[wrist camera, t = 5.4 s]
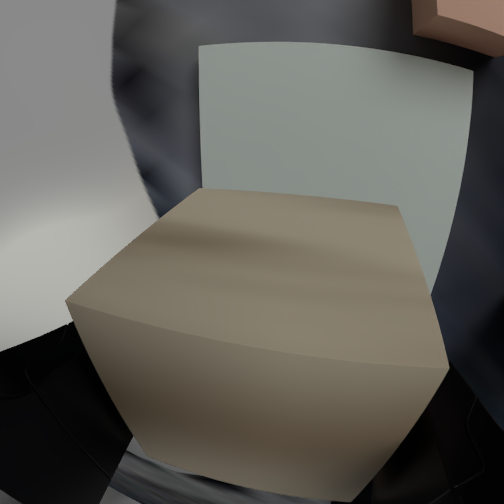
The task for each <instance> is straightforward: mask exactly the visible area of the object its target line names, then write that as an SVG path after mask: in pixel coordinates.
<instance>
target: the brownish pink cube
mask: <svg viewBox="0 0 504 504" xmlns="http://www.w3.org/2000/svg"><path fill="white" fill-rule="evenodd" d="M411 1H412V20H413V35H417V36H421V37H426V38H430V39H435V40H439V41H443V42H447V43H450V44H454V45H458V46H461V47H465V48H468V49H471V50H474V51H477V52H481V53H484V54H486V55H489V56H492V57H497V56H504V0H411Z"/></svg>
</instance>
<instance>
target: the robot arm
mask: <svg viewBox="0 0 504 504" xmlns="http://www.w3.org/2000/svg"><path fill="white" fill-rule="evenodd" d="M447 359H448V358H447ZM448 364H449V370H448V372H447V374H446V375H445V377H444V379H443V381H442V382H441V384H440V386H439V387H438V389H437V391H436V392H435V394H434V396H433V397H432V399H431V400H430V402H429V403H428V405H427V407H426V408H425V410H424V411H423V413H422V414H421V416H420V417H419V419H418V420H417V422H416V423H415V424H414V426H413V427H412V429H411V430H410V432H409V433H408V434H407V436H406V437H405V438H404V440H403V441H402V442H401V444H400V445H399V446H398V448H397V449H396V450H395V452H394V453H393V454H392V456H391V457H390V458H389V459H388V461H387V462H386V463H385V464H384V465H383V467H382V468H381V469H380V470H379V471H378V473H377V474H376V475H375V476H374V477H373V478H372V480H371V481H370V482H369V483H368V484H367V485H366V486H365V488H364V489H363V490H362V491H361V492H360V493H359V494H358V495H357V496H356V497H355V498H354V499H353V500H352V501H351V502H341V501H331V504H504V431H503V429H502V428H501V427H500V426H499V425H498V423H497V422H496V421H495V419H494V418H493V417H492V415H491V414H490V413H489V412H488V410H487V409H486V408H485V406H484V405H483V403H482V402H481V401H480V399H479V398H478V397H475V396H476V395H475V393H474V392H473V390H472V389H471V388H470V386H469V385H468V384H467V382H466V381H465V380H464V378H463V377H462V376H461V375H460V373H459V372H458V371H457V369H456V368H455V367H454V366H453V364H452V363H451V362H450V361H449V359H448ZM133 436H134V435H133V434H132V432H131V431H130V429H129V428H128V426H127V424H126V423H125V421H124V419H123V418H122V416H121V414H120V413H119V411H118V409H117V408H116V406H115V404H114V402H113V401H112V399H111V397H110V395H109V393H108V392H107V390H106V388H105V386H104V384H103V382H102V381H101V379H100V377H99V375H98V373H97V371H96V369H95V367H94V365H93V363H92V361H91V359H90V357H89V355H88V353H87V350H86V348H85V346H84V344H83V342H82V340H81V337H80V335H79V333H78V331H77V328H76V326H75V324H74V321H73V322H71V323H69V324H68V325H64V326H62V327H60V328H58V329H55V330H53V331H51V332H49V333H46V334H44V335H42V336H40V337H37V338H35V339H32V340H30V341H27V342H24V343H22V344H19V345H17V346H14V347H11V348H9V349H6V350H3V351H1V352H0V504H99V503H100V501H101V499H102V497H103V495H104V493H105V491H106V489H107V487H108V485H109V483H110V481H111V478H112V477H113V475H114V473H115V471H116V469H117V467H118V465H119V463H120V461H121V459H122V457H123V455H124V453H125V451H126V449H127V447H128V445H129V443H130V441H131V439H132V438H133Z"/></svg>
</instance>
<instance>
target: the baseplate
mask: <svg viewBox="0 0 504 504" xmlns="http://www.w3.org/2000/svg"><path fill="white" fill-rule="evenodd" d="M472 92H473V71H472V70H468V69H465V68H462V67H458V66H455V65H451V64H447V63H443V62H439V61H435V60H431V59H427V58H422V57H418V56H413V55H408V54H402V53H397V52H391V51H385V50H379V49H372V48H364V47H356V46H347V45H336V44H323V43H304V42H248V43H229V44H216V45H205V46H199V107H200V141H201V167H202V188H207V189H226V190H243V191H258V192H271V193H284V194H296V195H307V196H317V197H327V198H337V199H346V200H355V201H364V202H372V203H380V204H388V205H396V206H398V208H399V211H400V213H401V216H402V218H403V220H404V223H405V225H406V228H407V230H408V233H409V236H410V238H411V241H412V243H413V246H414V249H415V251H416V254H417V257H418V260H419V263H420V265H421V268H422V271H423V274H424V277H425V280H426V283H427V286H428V289H429V293H430V294H431V292H432V289H433V286H434V283H435V280H436V277H437V274H438V271H439V267H440V264H441V261H442V258H443V254H444V251H445V247H446V244H447V240H448V237H449V233H450V229H451V225H452V221H453V217H454V213H455V208H456V204H457V199H458V195H459V190H460V185H461V180H462V174H463V169H464V163H465V157H466V150H467V143H468V135H469V127H470V117H471V106H472Z"/></svg>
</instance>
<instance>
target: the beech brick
mask: <svg viewBox="0 0 504 504" xmlns="http://www.w3.org/2000/svg"><path fill="white" fill-rule="evenodd" d="M65 302H66V304H67V307H68V309H69V312H70V314H71V316H72V319H73V321H74V324H75V326H76V328H77V331H78V333H79V335H80V337H81V340H82V342H83V344H84V346H85V348H86V350H87V353H88V355H89V357H90V359H91V361H92V363H93V365H94V367H95V369H96V371H97V373H98V375H99V377H100V379H101V381H102V382H103V384H104V386H105V388H106V390H107V392H108V393H109V395H110V397H111V399H112V401H113V402H114V404H115V406H116V408H117V409H118V411H119V413H120V414H121V416H122V418H123V419H124V421H125V423H126V424H127V426H128V428H129V429H130V431H131V432H132V434H133V435H134V437H135V438H136V440H137V442H138V443H139V445H140V446H141V448H142V449H143V451H144V452H145V453H146V455H147V456H148V457H150V458H153V459H156V460H159V461H161V462H164V463H166V464H169V465H172V466H175V467H178V468H180V469H184V470H186V471H189V472H193V473H196V474H199V475H202V476H206V477H209V478H212V479H216V480H220V481H223V482H227V483H231V484H235V485H239V486H243V487H248V488H252V489H257V490H262V491H267V492H272V493H277V494H283V495H289V496H296V497H303V498H311V499H319V500H329V501H341V502H351V501H352V500H353V499H354V498H355V497H356V496H357V495H358V494H359V493H360V492H361V491H362V490H363V489H364V488H365V486H366V485H367V484H368V483H369V482H370V481H371V480H372V478H373V477H374V476H375V475H376V474H377V473H378V471H379V470H380V469H381V468H382V467H383V465H384V464H385V463H386V462H387V461H388V459H389V458H390V457H391V456H392V454H393V453H394V452H395V450H396V449H397V448H398V446H399V445H400V444H401V442H402V441H403V440H404V438H405V437H406V436H407V434H408V433H409V432H410V430H411V429H412V427H413V426H414V424H415V423H416V422H417V420H418V419H419V417H420V416H421V414H422V413H423V411H424V410H425V408H426V407H427V405H428V403H429V402H430V400H431V399H432V397H433V396H434V394H435V392H436V391H437V389H438V387H439V386H440V384H441V382H442V381H443V379H444V377H445V375H446V374H447V372H448V370H449V364H448V359H447V355H446V351H445V346H444V342H443V338H442V335H441V331H440V327H439V323H438V320H437V316H436V313H435V309H434V306H433V302H432V299H431V296H430V293H429V289H428V286H427V283H426V280H425V277H424V274H423V271H422V268H421V265H420V263H419V260H418V257H417V254H416V251H415V249H414V246H413V243H412V241H411V238H410V236H409V233H408V230H407V228H406V225H405V223H404V220H403V218H402V216H401V213H400V211H399V208H398V206H396V205H388V204H380V203H372V202H364V201H355V200H346V199H337V198H327V197H317V196H307V195H296V194H284V193H271V192H258V191H243V190H226V189H207V188H199V189H197V190H196V191H195V192H193V193H192V194H191V195H190V196H188V197H187V198H186V199H184V200H183V201H182V202H180V203H179V204H178V205H177V206H175V207H174V208H173V209H171V210H170V211H169V212H168V213H166V214H165V215H164V216H163V217H161V218H160V219H159V220H158V221H156V222H155V223H154V224H153V225H151V226H150V227H149V228H148V229H146V230H145V231H144V232H143V233H141V234H140V235H139V236H138V237H137V238H136V239H134V240H133V241H132V242H131V243H129V244H128V245H127V246H126V247H125V248H124V249H122V250H121V251H120V252H119V253H118V254H116V255H115V256H114V257H113V258H112V259H111V260H110V261H108V262H107V263H106V264H105V265H104V266H103V267H101V268H100V269H99V270H98V271H97V272H96V273H95V274H94V275H92V276H91V277H90V278H89V279H88V280H87V281H86V282H85V283H84V284H82V285H81V286H80V287H79V288H78V289H77V290H76V291H75V292H74V293H73V294H72V295H70V296H69V297H68V298H67V299H66V300H65Z"/></svg>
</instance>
